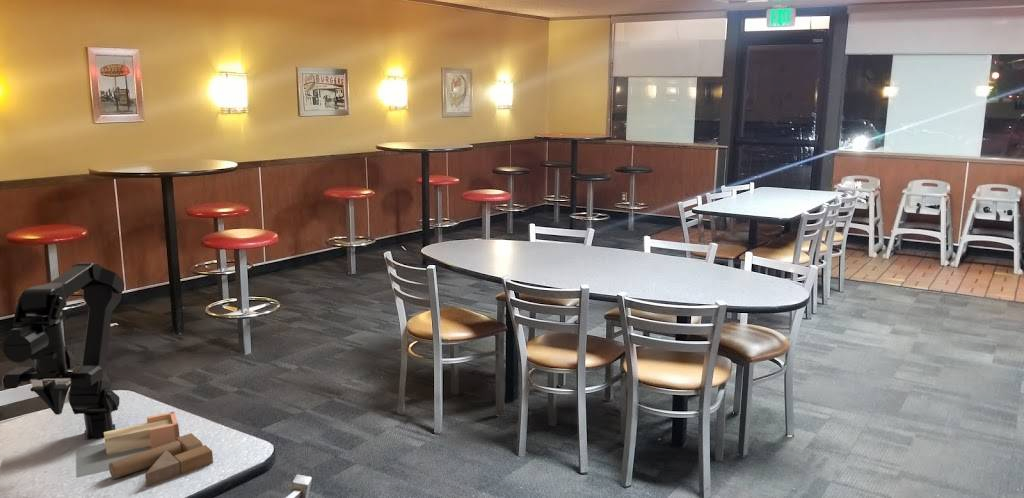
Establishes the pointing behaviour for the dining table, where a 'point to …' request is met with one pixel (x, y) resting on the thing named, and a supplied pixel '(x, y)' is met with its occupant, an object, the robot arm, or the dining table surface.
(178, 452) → the tan wooden pieces
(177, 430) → the u-shaped bracket
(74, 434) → the dining table surface
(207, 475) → the dining table surface
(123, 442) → the wooden building block
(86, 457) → the board
